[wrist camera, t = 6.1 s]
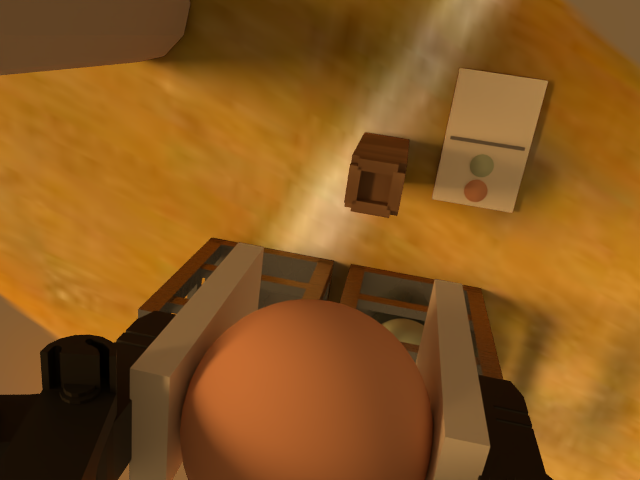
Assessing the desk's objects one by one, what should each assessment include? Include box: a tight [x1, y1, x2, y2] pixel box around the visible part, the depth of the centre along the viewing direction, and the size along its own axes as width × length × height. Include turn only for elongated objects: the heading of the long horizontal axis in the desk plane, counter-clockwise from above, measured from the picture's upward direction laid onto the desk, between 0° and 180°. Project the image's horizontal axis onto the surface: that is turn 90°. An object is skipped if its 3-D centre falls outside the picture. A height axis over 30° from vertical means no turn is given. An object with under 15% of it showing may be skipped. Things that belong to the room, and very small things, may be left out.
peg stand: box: [344, 132, 409, 218], centre depth 32 cm, size 3×3×8 cm
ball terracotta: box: [180, 299, 433, 480], centre depth 11 cm, size 5×5×5 cm
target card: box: [432, 68, 548, 213], centre depth 34 cm, size 8×5×1 cm, turn 173°
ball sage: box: [382, 319, 424, 345], centre depth 36 cm, size 5×5×5 cm
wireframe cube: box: [138, 238, 334, 318], centre depth 35 cm, size 9×9×11 cm
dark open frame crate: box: [340, 264, 503, 380], centre depth 34 cm, size 9×9×11 cm
